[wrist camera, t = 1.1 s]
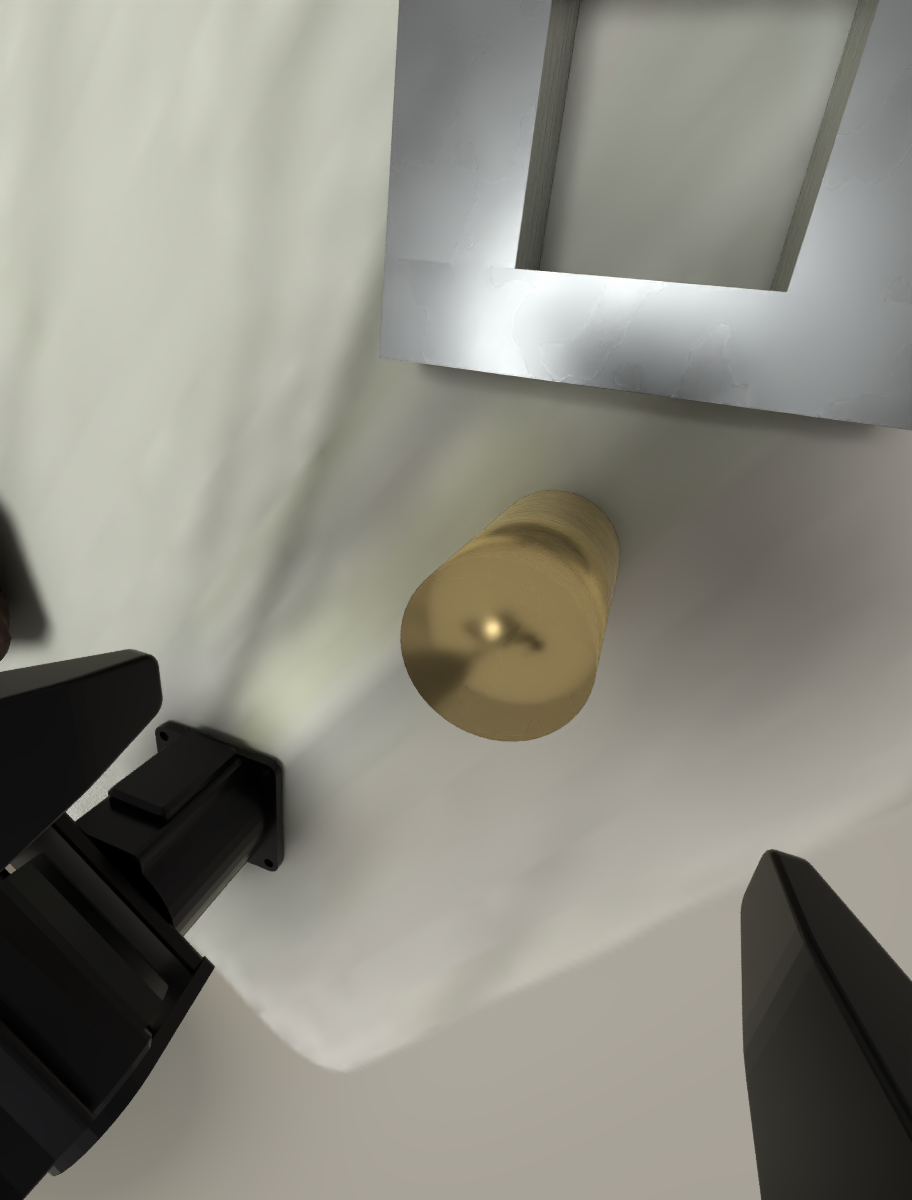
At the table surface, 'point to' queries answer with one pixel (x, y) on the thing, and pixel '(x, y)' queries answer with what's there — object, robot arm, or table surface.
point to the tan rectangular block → (516, 619)
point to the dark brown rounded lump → (4, 627)
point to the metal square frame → (631, 306)
